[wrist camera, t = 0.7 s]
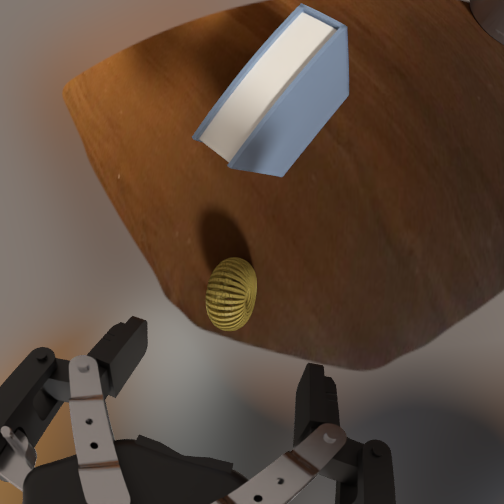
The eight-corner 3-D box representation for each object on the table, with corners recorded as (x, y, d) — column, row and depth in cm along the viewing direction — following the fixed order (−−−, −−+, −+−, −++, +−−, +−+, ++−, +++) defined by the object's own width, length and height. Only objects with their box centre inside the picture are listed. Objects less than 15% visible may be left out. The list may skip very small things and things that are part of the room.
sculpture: (230, 248, 35) (198, 265, 28) (263, 252, 34) (238, 271, 27) (228, 310, 37) (199, 339, 30) (258, 316, 36) (236, 347, 28)
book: (258, 157, 32) (191, 137, 18) (323, 77, 28) (301, 3, 14) (282, 177, 31) (230, 168, 18) (348, 94, 27) (347, 26, 13)
